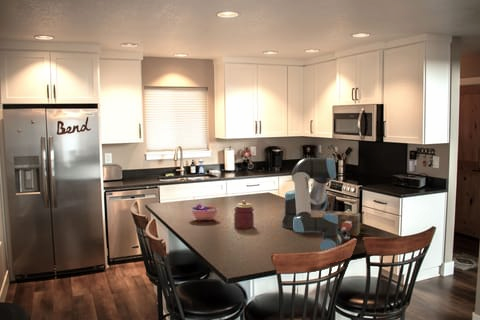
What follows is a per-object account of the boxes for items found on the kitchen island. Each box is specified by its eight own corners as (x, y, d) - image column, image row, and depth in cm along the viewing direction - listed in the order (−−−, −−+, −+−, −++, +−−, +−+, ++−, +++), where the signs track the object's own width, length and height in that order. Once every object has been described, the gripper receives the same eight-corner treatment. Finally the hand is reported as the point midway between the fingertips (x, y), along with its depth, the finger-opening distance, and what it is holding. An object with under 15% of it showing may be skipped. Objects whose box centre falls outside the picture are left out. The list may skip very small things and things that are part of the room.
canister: (236, 230, 273) (236, 202, 272) (231, 225, 286) (231, 199, 284) (256, 229, 277) (256, 201, 275) (250, 224, 289) (250, 198, 288)
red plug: (341, 231, 254) (341, 222, 254) (345, 226, 266) (346, 217, 265) (350, 232, 252) (350, 223, 252) (354, 227, 263) (354, 218, 263)
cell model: (215, 223, 291) (215, 207, 290) (186, 222, 295) (186, 205, 294) (221, 218, 307) (221, 202, 306) (194, 217, 311) (194, 201, 310)
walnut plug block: (324, 232, 269) (324, 213, 268) (327, 229, 276) (328, 210, 275) (357, 235, 260) (357, 216, 259) (359, 232, 267) (360, 213, 266)
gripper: (322, 245, 230) (333, 234, 251) (347, 248, 225) (355, 237, 246) (322, 231, 230) (333, 221, 251) (347, 234, 224) (356, 224, 245)
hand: (344, 229), depth 248 cm, fingers closed
